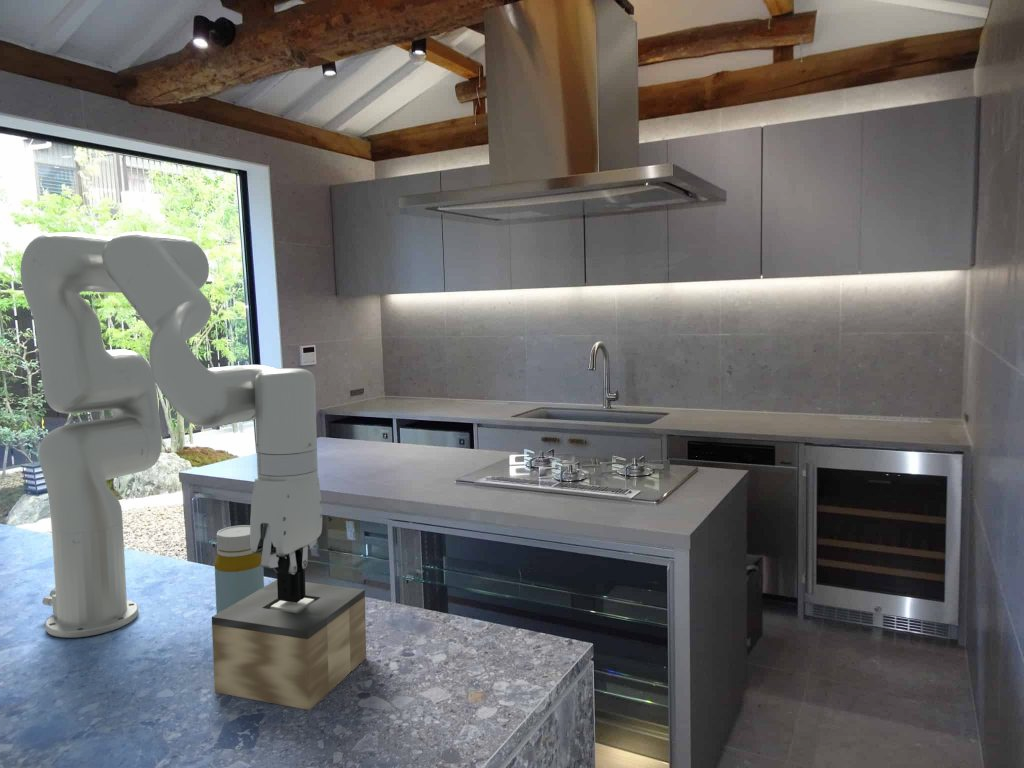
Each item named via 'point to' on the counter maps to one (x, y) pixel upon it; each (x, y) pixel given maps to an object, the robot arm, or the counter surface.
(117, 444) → the robot arm
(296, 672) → the socket
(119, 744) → the counter surface
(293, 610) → the peg
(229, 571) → the bottle
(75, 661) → the counter surface
